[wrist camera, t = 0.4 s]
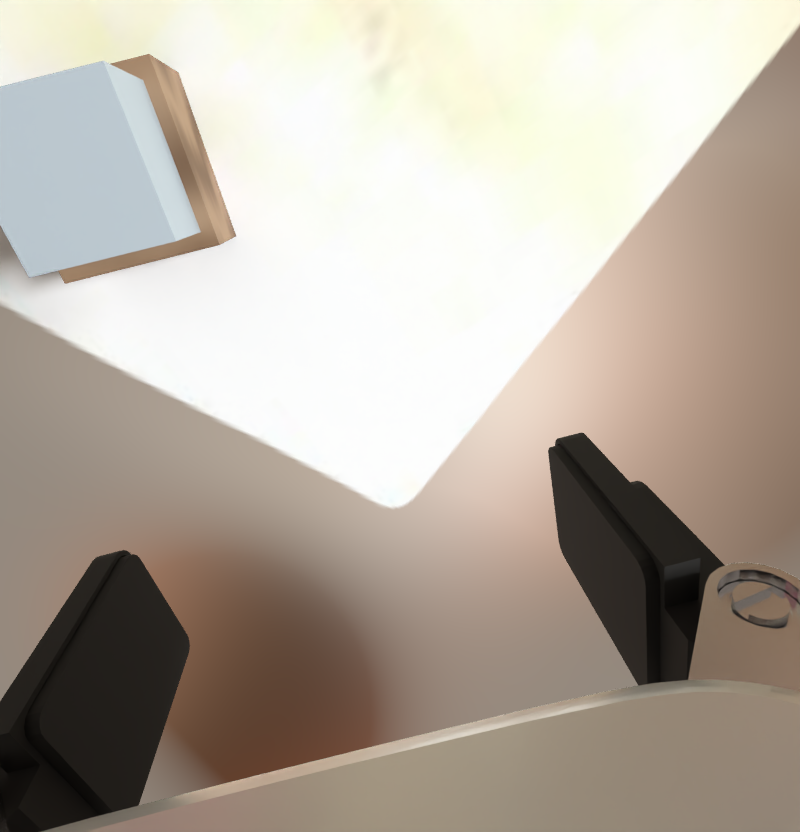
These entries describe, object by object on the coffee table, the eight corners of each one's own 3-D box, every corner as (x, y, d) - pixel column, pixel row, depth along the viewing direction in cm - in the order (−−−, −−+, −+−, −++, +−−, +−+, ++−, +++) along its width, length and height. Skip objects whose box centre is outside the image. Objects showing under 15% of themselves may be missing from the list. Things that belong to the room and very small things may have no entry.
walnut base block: (27, 112, 32) (-32, 99, 27) (179, 73, 32) (148, 54, 27) (103, 269, 36) (64, 283, 31) (236, 235, 36) (219, 244, 31)
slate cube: (1, 115, 27) (-67, 103, 23) (143, 80, 27) (103, 60, 23) (75, 263, 31) (28, 277, 26) (201, 231, 31) (176, 241, 26)
